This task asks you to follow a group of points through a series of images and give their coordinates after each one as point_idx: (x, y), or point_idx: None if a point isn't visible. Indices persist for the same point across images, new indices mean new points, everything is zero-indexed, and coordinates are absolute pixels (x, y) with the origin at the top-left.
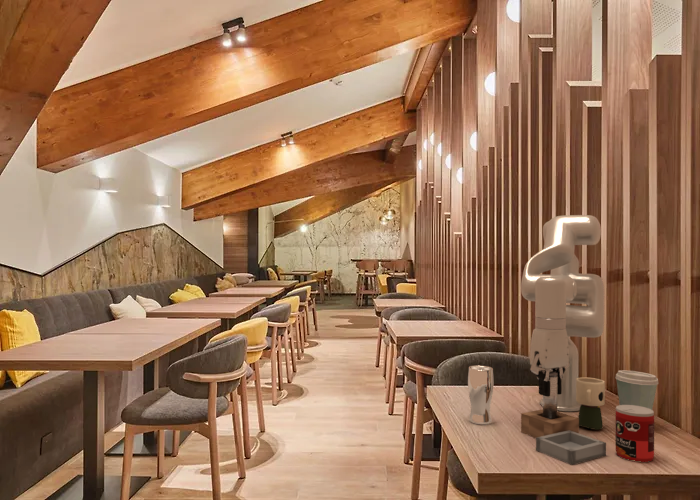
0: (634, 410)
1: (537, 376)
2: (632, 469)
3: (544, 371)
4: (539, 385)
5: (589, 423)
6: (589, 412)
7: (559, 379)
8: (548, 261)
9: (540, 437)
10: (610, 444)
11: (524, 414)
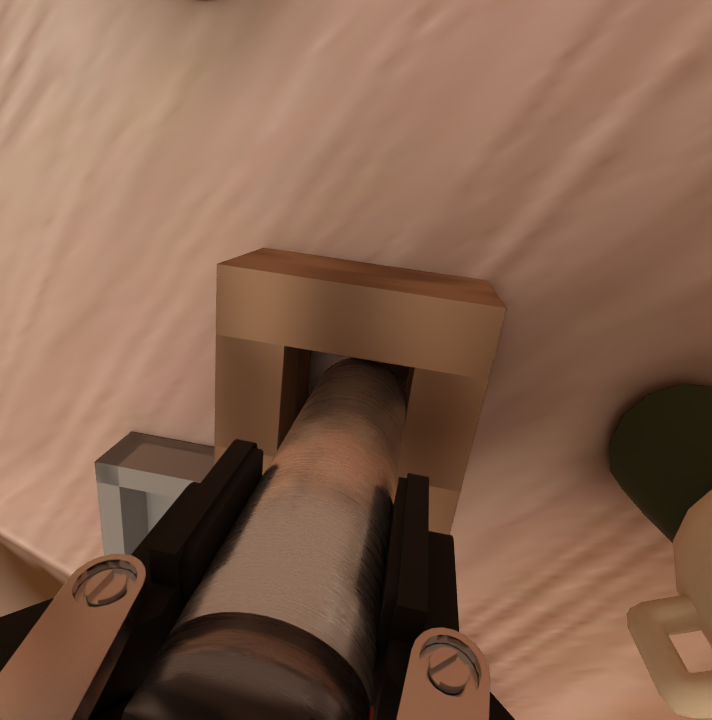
0: None
1: (19, 621)
2: None
3: (174, 703)
4: (161, 520)
5: (623, 486)
6: (664, 528)
7: (372, 715)
8: None
9: (116, 472)
10: (473, 582)
11: (217, 294)
